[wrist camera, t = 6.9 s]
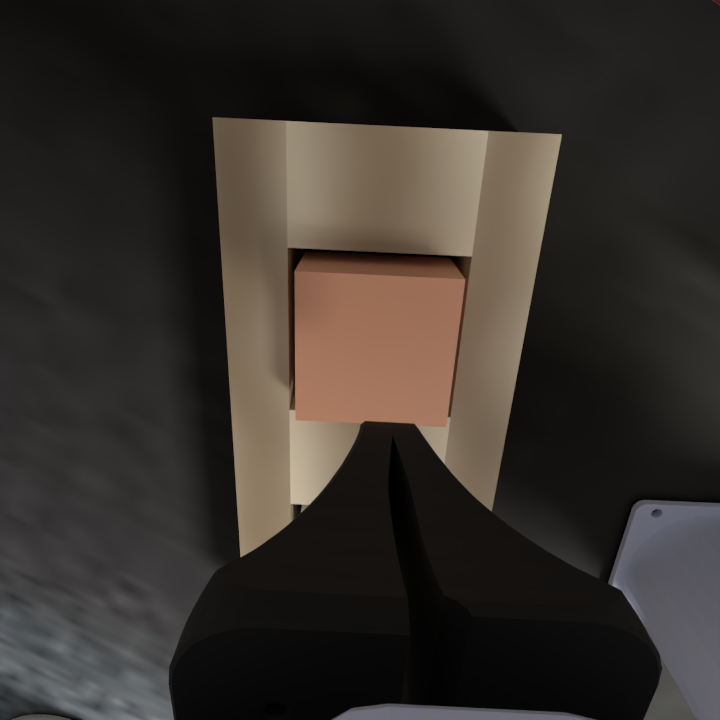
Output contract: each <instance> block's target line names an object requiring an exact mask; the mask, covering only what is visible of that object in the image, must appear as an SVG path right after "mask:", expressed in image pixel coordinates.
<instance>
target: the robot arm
mask: <svg viewBox="0 0 720 720" xmlns="http://www.w3.org/2000/svg"><path fill="white" fill-rule="evenodd" d="M656 509H657V510H656ZM654 510H656V511H655V512H652V511H654ZM659 654H660V655H659ZM660 656H661V658H662V660H663V661H664V663H665V665H666V667H667V668H668V670H669V672H670V674H671V675H672V677H673V679H674V681H675V682H676V684H677V686H678V688H679V689H680V691H681V693H682V695H683V696H684V698H685V700H686V702H687V703H688V705H689V707H690V709H691V710H692V712H693V714H694V716H695V717H696V719H697V720H720V503H704V502H682V501H660V500H641V501H638V502H637V503H635V504H634V506H633V507H632V510H631V513H630V516H629V519H628V522H627V526H626V529H625V532H624V535H623V538H622V541H621V544H620V547H619V550H618V553H617V557H616V560H615V563H614V566H613V569H612V572H611V575H610V578H609V581H608V583H606V582H604V581H602V580H600V579H598V578H596V577H593V576H591V575H589V574H587V573H585V572H583V571H581V570H579V569H577V568H575V567H573V566H572V565H570V564H568V563H566V562H564V561H563V560H561V559H559V558H558V557H556V556H554V555H553V554H551V553H549V552H547V551H546V550H544V549H542V548H541V547H539V546H538V545H536V544H535V543H533V542H532V541H530V540H529V539H527V538H526V537H524V536H523V535H521V534H520V533H519V532H517V531H516V530H514V529H513V528H512V527H510V526H509V525H507V524H506V523H505V522H504V521H502V520H501V519H500V518H498V517H497V516H496V515H495V514H494V513H492V512H491V511H490V510H489V509H488V508H487V507H485V506H484V505H483V504H482V503H481V502H480V501H479V500H477V499H476V498H475V497H474V496H473V495H472V494H471V493H470V492H469V491H468V490H467V489H466V488H465V487H464V486H463V485H462V484H461V483H460V482H459V480H458V479H457V478H456V477H455V476H454V475H453V474H452V473H451V471H450V470H449V469H448V468H447V466H446V465H445V464H444V463H443V462H442V460H441V459H440V458H439V457H438V455H437V454H436V453H435V451H434V450H433V449H432V447H431V446H430V444H429V443H428V442H427V440H426V439H425V437H424V436H423V434H422V433H421V431H420V430H419V428H418V427H417V426H416V425H415V424H414V423H395V422H376V421H364V422H363V423H362V424H361V425H360V429H359V433H358V435H357V438H356V440H355V442H354V444H353V446H352V448H351V450H350V451H349V453H348V455H347V456H346V458H345V460H344V462H343V463H342V465H341V466H340V468H339V469H338V470H337V472H336V473H335V475H334V476H333V477H332V479H331V480H330V481H329V483H328V484H327V485H326V487H325V488H324V489H323V490H322V491H321V493H320V494H319V495H318V496H317V497H316V498H315V499H314V500H313V501H312V502H311V504H310V505H309V506H308V507H307V508H306V509H305V510H303V511H302V512H301V513H300V514H299V515H298V516H297V517H296V518H295V519H294V520H293V521H292V522H290V523H289V524H288V525H287V526H286V527H285V528H283V529H282V530H281V531H279V532H278V533H277V534H275V535H274V536H273V537H271V538H270V539H269V540H267V541H266V542H265V543H263V544H262V545H260V546H259V547H257V548H256V549H254V550H253V551H251V552H249V553H247V554H246V555H244V556H242V557H240V558H238V559H237V560H235V561H233V562H231V563H230V564H228V565H226V566H224V567H222V568H220V569H218V570H217V571H215V573H214V574H213V576H212V577H211V579H210V581H209V582H208V584H207V585H206V587H205V589H204V590H203V592H202V594H201V596H200V597H199V599H198V601H197V603H196V605H195V606H194V608H193V610H192V612H191V614H190V616H189V618H188V620H187V622H186V624H185V627H184V629H183V632H182V634H181V637H180V640H179V642H178V645H177V648H176V650H175V653H174V656H173V658H172V661H171V664H170V667H169V688H170V695H171V702H172V708H173V715H174V720H643V719H644V717H645V715H646V712H647V710H648V708H649V705H650V703H651V701H652V698H653V696H654V694H655V691H656V689H657V686H658V684H659V679H660V675H661V671H662V666H661V660H660Z"/></svg>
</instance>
